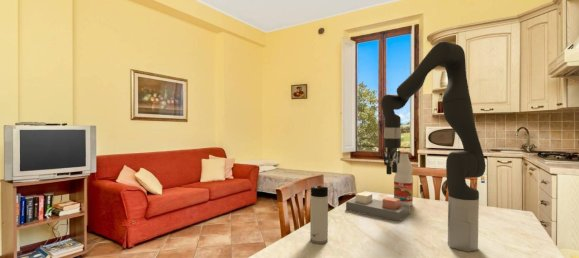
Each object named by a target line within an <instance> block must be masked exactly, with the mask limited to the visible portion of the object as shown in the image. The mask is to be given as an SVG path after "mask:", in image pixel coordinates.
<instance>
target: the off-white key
mask: <svg viewBox="0 0 579 258" xmlns="http://www.w3.org/2000/svg"><path fill="white" fill-rule="evenodd" d="M355 198H356V202H360V203H365V204H368V203H370V202H372V199H373V193H368V192H362V191H361V192H359V193H356V194H355Z"/></svg>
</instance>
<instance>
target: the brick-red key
mask: <svg viewBox="0 0 579 258" xmlns="http://www.w3.org/2000/svg"><path fill="white" fill-rule="evenodd" d="M382 201H383V205H382V207H386V208H391V209H397V208H399V207H400V199H398V198H394V197H391V196H386V197H385V198H383V199H382Z"/></svg>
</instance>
